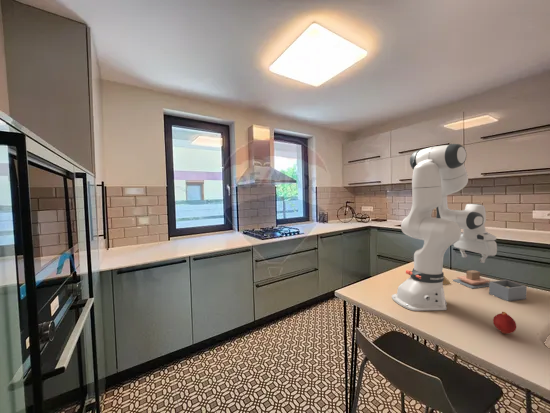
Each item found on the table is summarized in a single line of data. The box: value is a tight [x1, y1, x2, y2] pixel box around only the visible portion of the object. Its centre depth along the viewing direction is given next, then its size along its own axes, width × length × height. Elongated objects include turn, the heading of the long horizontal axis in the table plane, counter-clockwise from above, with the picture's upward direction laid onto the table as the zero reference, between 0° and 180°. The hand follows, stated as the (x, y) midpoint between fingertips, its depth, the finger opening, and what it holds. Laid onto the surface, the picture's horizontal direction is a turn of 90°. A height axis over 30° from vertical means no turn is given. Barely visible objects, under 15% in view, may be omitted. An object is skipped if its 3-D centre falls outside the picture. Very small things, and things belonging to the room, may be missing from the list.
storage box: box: [488, 279, 528, 302], centre depth 108 cm, size 10×8×6 cm
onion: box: [492, 311, 517, 335], centre depth 82 cm, size 6×6×8 cm
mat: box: [452, 278, 489, 290], centre depth 124 cm, size 14×11×1 cm
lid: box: [456, 269, 491, 285], centre depth 124 cm, size 10×8×6 cm
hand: (472, 259), depth 123 cm, fingers open, 8 cm apart
